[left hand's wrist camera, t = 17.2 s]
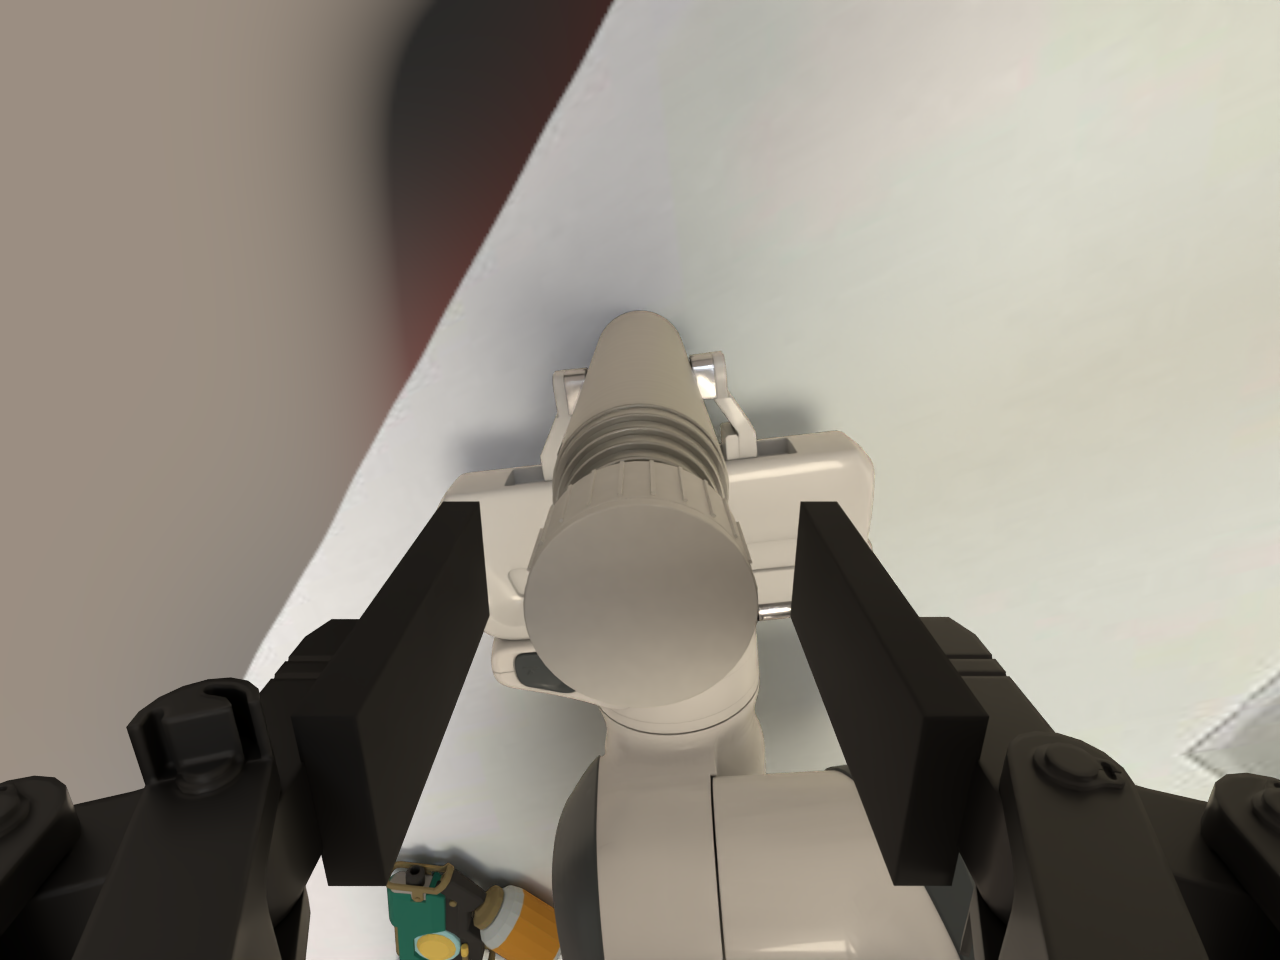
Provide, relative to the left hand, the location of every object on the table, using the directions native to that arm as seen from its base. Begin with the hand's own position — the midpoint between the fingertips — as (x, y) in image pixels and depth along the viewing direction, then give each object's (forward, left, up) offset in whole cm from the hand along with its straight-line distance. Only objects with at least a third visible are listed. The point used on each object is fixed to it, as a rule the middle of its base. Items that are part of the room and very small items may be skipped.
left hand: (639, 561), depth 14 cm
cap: (0, 0, +2) cm, 2 cm away
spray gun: (+44, +13, -24) cm, 52 cm away
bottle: (0, 0, -24) cm, 24 cm away
